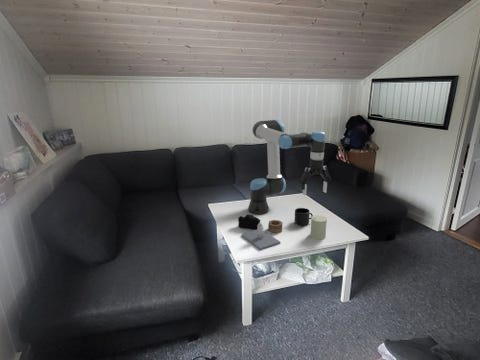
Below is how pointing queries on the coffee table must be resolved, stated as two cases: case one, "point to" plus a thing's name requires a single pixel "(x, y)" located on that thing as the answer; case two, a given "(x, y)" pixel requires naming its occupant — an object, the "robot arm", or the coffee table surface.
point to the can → (318, 227)
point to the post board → (262, 241)
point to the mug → (302, 216)
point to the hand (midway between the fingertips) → (314, 193)
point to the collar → (275, 226)
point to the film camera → (248, 222)
